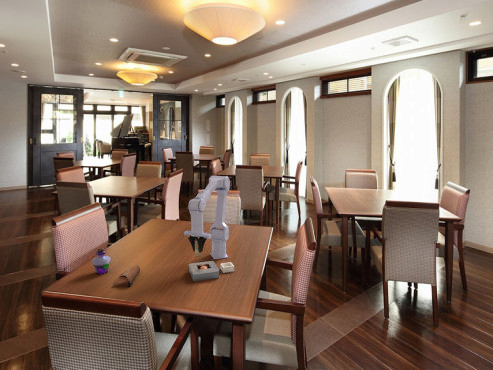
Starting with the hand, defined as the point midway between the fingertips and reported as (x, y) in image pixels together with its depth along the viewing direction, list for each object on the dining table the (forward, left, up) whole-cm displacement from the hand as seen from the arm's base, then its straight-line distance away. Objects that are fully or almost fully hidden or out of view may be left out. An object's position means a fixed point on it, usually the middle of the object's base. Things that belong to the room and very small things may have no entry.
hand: (197, 251), depth 163 cm
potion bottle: (-14, -44, -10) cm, 48 cm away
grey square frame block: (+5, +2, -10) cm, 11 cm away
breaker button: (+5, +2, -8) cm, 9 cm away
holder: (+3, +14, -10) cm, 17 cm away
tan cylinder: (0, 0, -3) cm, 2 cm away
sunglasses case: (-1, -33, -11) cm, 35 cm away
